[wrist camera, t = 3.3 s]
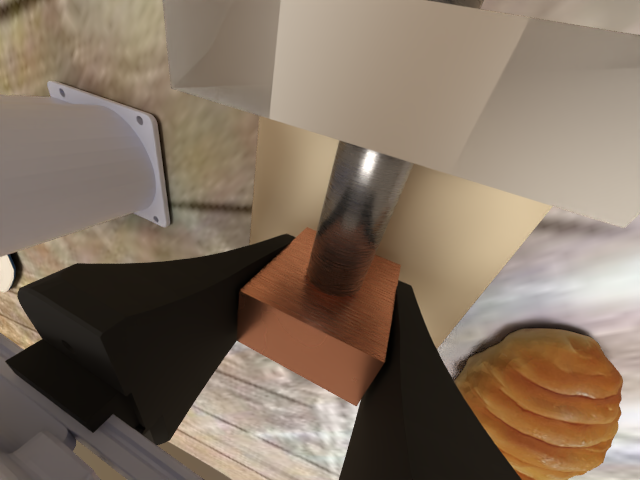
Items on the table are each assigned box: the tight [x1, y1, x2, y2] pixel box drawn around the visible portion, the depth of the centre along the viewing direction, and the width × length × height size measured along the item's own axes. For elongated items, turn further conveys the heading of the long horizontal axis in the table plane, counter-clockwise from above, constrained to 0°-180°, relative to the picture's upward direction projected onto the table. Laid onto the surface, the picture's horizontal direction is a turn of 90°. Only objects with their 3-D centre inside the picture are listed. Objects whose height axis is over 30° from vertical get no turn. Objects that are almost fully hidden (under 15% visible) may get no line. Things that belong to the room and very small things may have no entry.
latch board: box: [163, 0, 640, 349], centre depth 10 cm, size 12×18×8 cm
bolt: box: [237, 0, 484, 406], centre depth 7 cm, size 4×10×5 cm, turn 167°
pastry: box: [454, 328, 623, 480], centre depth 12 cm, size 9×7×4 cm
